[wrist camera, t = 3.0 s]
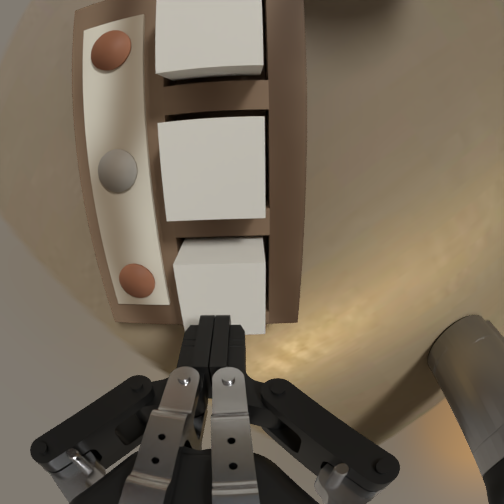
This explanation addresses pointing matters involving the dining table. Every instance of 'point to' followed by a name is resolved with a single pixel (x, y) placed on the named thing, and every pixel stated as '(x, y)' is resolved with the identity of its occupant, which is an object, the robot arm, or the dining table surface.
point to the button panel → (148, 155)
